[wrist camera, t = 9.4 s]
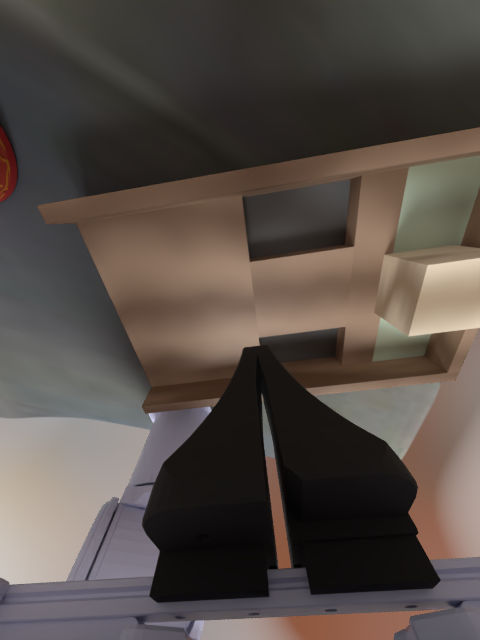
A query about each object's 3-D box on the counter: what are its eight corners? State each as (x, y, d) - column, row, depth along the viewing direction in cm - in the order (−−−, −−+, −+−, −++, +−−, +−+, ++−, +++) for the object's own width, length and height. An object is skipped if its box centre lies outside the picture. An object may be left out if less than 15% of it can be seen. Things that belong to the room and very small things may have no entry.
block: (433, 305, 17) (483, 327, 14) (374, 312, 18) (408, 336, 14) (452, 244, 15) (517, 252, 12) (384, 254, 16) (427, 265, 12)
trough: (416, 350, 22) (455, 380, 18) (161, 380, 24) (145, 413, 20) (479, 141, 14) (576, 109, 10) (88, 208, 16) (36, 205, 12)
